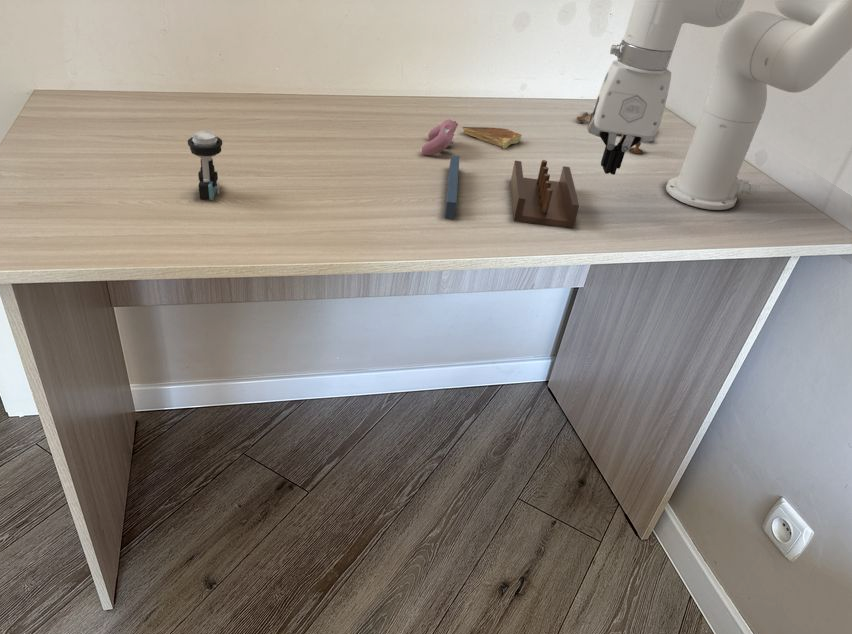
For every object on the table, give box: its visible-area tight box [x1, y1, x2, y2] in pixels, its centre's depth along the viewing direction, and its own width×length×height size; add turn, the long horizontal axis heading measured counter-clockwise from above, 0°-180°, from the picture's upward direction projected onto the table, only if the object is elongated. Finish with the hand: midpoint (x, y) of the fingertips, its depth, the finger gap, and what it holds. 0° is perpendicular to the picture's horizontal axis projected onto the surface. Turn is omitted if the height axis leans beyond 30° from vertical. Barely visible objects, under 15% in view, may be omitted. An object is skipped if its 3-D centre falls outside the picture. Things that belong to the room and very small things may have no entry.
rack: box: [510, 159, 581, 229], centre depth 120 cm, size 10×16×6 cm, turn 174°
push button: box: [187, 130, 223, 201], centre depth 112 cm, size 7×5×10 cm
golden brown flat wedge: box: [461, 126, 523, 150], centre depth 145 cm, size 11×8×2 cm
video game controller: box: [421, 118, 459, 156], centre depth 136 cm, size 10×5×7 cm, turn 168°
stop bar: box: [444, 154, 460, 220], centre depth 121 cm, size 2×20×3 cm, turn 174°
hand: (608, 170), depth 116 cm, fingers closed
